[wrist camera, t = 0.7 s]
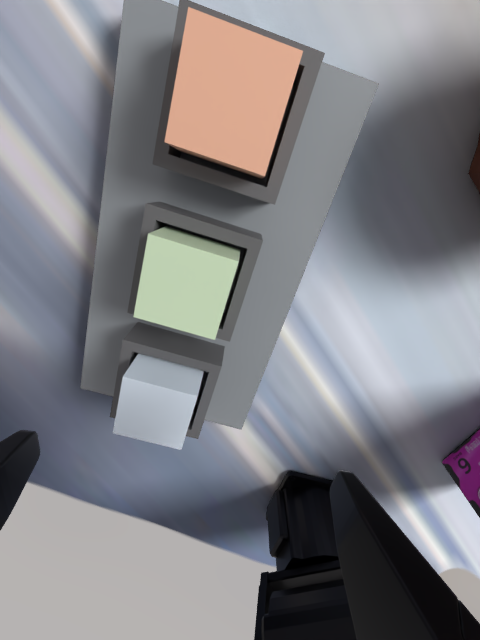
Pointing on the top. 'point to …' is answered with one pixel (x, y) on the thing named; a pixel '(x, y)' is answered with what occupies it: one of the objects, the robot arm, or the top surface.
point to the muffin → (476, 167)
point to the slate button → (157, 401)
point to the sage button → (185, 281)
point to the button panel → (210, 213)
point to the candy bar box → (467, 469)
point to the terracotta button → (230, 93)
